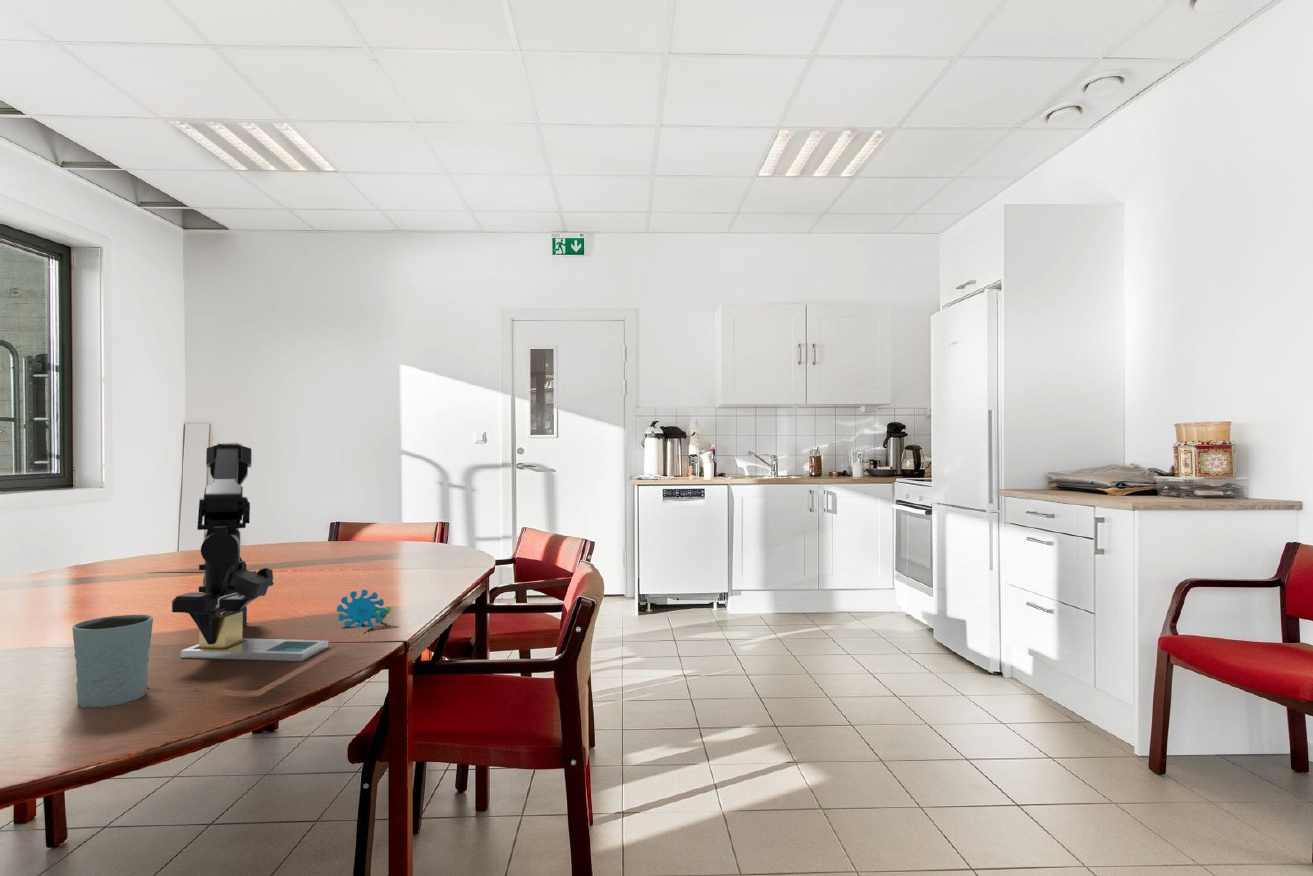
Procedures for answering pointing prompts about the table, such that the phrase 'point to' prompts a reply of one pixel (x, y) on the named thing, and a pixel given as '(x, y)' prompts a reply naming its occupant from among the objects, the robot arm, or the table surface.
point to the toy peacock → (362, 609)
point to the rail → (261, 650)
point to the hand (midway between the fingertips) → (221, 640)
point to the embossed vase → (112, 659)
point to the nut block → (225, 631)
